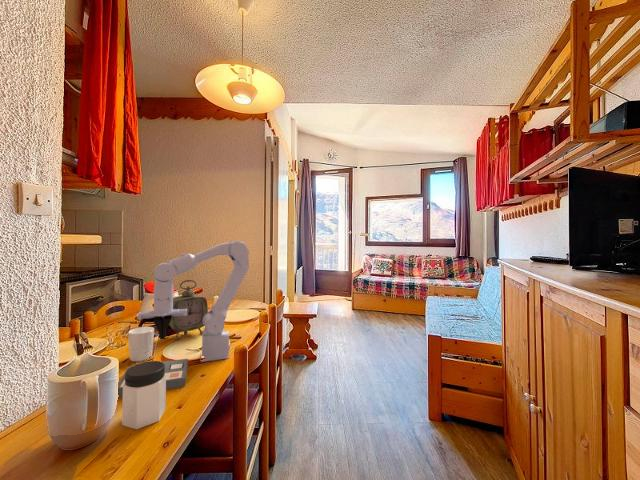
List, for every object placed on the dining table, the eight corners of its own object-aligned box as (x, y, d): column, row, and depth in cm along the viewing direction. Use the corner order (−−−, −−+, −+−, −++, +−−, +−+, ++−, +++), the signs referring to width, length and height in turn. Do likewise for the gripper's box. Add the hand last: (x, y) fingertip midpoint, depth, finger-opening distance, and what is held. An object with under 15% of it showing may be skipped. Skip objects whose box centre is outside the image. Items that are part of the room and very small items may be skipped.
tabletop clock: (172, 342, 114) (173, 282, 114) (166, 336, 120) (167, 280, 120) (207, 334, 124) (208, 279, 124) (199, 329, 130) (200, 277, 130)
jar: (113, 424, 63) (115, 372, 63) (145, 404, 71) (146, 358, 71) (142, 433, 61) (144, 379, 61) (172, 411, 69) (173, 363, 69)
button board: (187, 365, 93) (187, 357, 93) (184, 386, 80) (185, 377, 80) (128, 374, 86) (128, 365, 86) (114, 398, 74) (115, 388, 74)
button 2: (182, 370, 89) (182, 363, 89) (181, 374, 86) (181, 367, 86) (171, 371, 88) (171, 364, 88) (170, 376, 85) (170, 369, 85)
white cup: (141, 363, 94) (141, 334, 94) (122, 361, 96) (122, 332, 96) (158, 354, 102) (159, 327, 102) (141, 352, 104) (141, 325, 104)
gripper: (135, 302, 86) (134, 345, 86) (186, 299, 92) (185, 339, 92) (140, 297, 93) (139, 337, 93) (187, 295, 98) (186, 332, 98)
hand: (162, 338), depth 93 cm, fingers closed
